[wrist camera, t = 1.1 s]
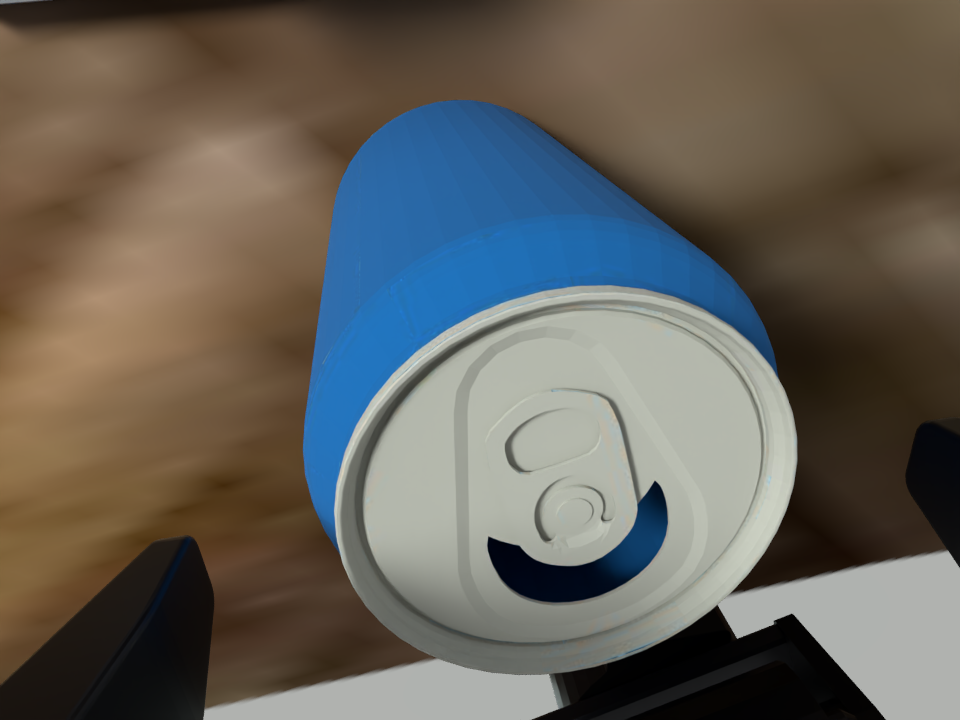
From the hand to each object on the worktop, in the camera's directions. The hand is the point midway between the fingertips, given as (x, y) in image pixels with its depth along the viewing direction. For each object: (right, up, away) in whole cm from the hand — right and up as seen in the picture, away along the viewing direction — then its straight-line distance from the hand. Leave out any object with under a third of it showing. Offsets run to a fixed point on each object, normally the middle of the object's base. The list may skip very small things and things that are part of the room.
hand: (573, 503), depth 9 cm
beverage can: (-2, +5, +10) cm, 12 cm away
